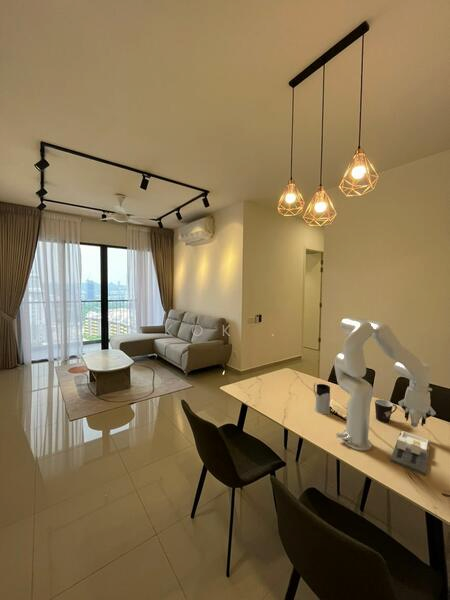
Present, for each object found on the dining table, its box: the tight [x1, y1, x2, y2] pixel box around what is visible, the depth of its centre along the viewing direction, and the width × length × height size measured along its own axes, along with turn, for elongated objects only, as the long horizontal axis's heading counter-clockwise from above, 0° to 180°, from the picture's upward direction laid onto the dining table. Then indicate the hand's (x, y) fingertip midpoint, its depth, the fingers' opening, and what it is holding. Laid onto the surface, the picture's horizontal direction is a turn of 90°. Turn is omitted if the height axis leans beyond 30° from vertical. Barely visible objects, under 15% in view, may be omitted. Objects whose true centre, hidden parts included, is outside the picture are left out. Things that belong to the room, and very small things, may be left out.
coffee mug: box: [374, 398, 398, 424], centre depth 141 cm, size 12×9×10 cm
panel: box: [389, 432, 431, 477], centre depth 114 cm, size 26×12×1 cm, turn 138°
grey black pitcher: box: [313, 382, 331, 415], centre depth 154 cm, size 9×14×15 cm, turn 12°
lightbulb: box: [408, 408, 423, 428], centre depth 127 cm, size 6×6×11 cm
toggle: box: [397, 435, 407, 451], centre depth 116 cm, size 4×3×4 cm
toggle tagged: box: [411, 440, 421, 455], centre depth 113 cm, size 4×3×4 cm
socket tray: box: [400, 430, 429, 453], centre depth 120 cm, size 10×10×2 cm
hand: (414, 421), depth 127 cm, fingers closed on lightbulb, 5 cm apart
